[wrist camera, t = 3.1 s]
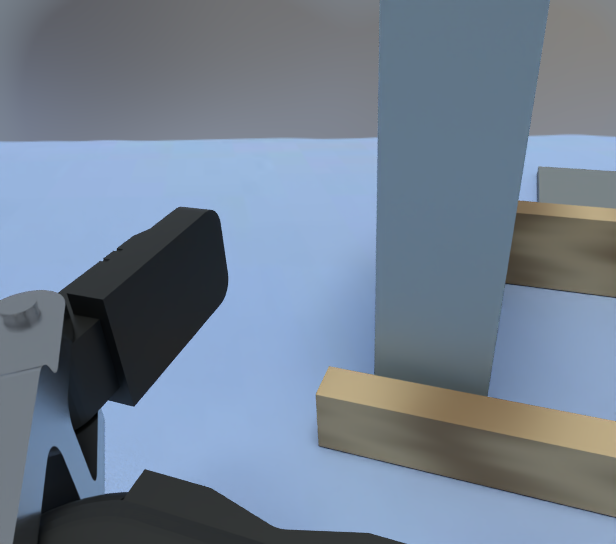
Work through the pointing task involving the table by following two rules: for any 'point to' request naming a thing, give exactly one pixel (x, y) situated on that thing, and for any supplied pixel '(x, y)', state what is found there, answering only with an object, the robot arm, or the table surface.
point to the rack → (486, 410)
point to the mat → (577, 187)
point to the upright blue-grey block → (449, 180)
